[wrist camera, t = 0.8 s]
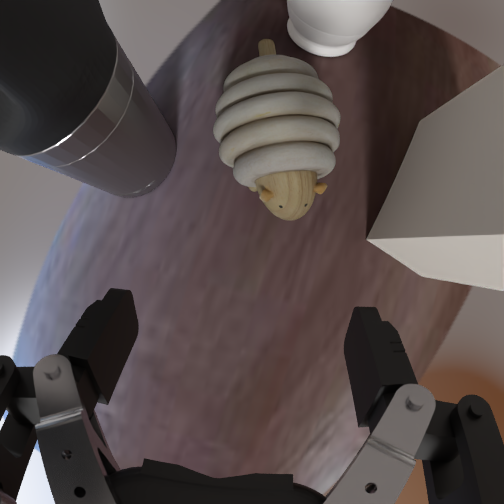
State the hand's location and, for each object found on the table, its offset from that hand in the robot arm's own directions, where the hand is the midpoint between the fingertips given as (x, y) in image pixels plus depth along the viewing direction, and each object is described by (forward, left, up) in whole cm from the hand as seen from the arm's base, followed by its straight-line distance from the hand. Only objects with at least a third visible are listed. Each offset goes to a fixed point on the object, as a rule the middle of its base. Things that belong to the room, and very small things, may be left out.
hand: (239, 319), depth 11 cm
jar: (-24, +17, -20) cm, 36 cm away
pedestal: (-2, +22, -20) cm, 29 cm away
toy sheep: (-11, +7, -20) cm, 24 cm away
